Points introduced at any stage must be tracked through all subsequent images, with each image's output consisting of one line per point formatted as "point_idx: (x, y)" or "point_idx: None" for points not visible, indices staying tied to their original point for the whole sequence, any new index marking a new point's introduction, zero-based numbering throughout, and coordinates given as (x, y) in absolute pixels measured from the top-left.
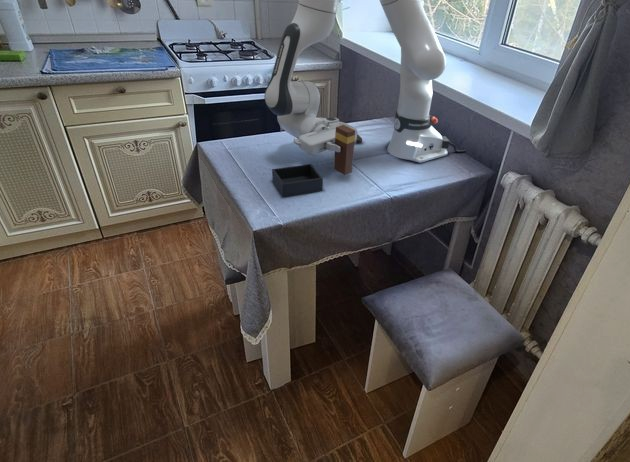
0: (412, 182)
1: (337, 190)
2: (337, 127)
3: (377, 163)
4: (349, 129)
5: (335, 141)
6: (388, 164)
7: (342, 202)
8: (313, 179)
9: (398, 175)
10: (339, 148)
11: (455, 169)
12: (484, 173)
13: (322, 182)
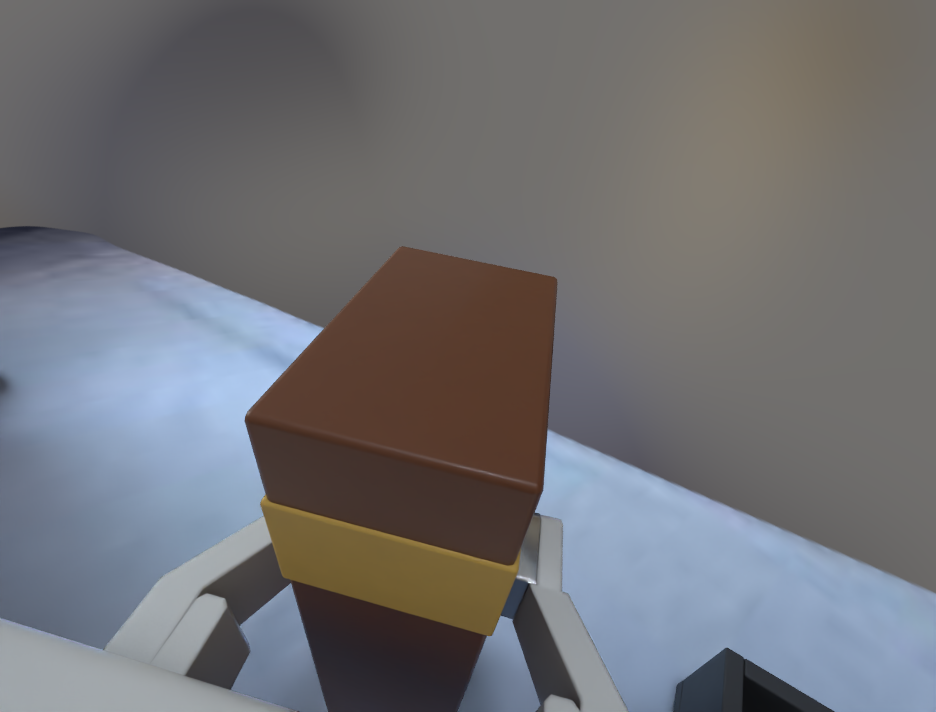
0: (264, 356)
1: (583, 594)
2: (532, 446)
3: (25, 569)
4: (431, 286)
5: (480, 647)
6: (38, 498)
7: (643, 505)
8: (822, 709)
9: (209, 411)
10: (556, 519)
11: (66, 282)
12: (90, 236)
13: (711, 660)
